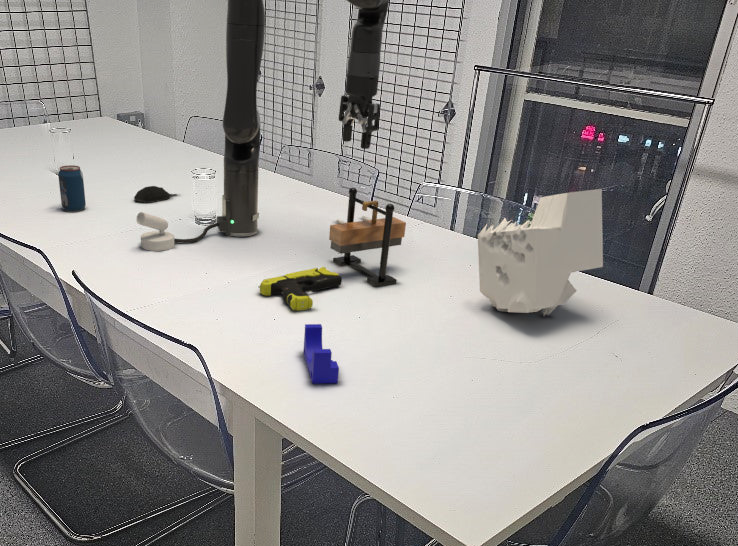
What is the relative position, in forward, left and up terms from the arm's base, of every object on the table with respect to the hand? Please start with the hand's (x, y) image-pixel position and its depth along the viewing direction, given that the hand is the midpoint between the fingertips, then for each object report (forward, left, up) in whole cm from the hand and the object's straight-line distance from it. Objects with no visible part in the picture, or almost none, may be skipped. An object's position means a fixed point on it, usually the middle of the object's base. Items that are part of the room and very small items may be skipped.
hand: (355, 144), depth 183 cm
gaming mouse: (-46, +53, -26) cm, 75 cm away
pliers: (+10, +16, -26) cm, 33 cm away
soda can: (-71, +44, -26) cm, 87 cm away
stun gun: (-19, -31, -26) cm, 44 cm away
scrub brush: (-2, -19, -20) cm, 27 cm away
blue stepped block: (-26, -66, -26) cm, 75 cm away
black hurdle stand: (-2, -19, -26) cm, 32 cm away
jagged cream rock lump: (+26, -46, -26) cm, 59 cm away
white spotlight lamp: (-50, +7, -26) cm, 56 cm away
